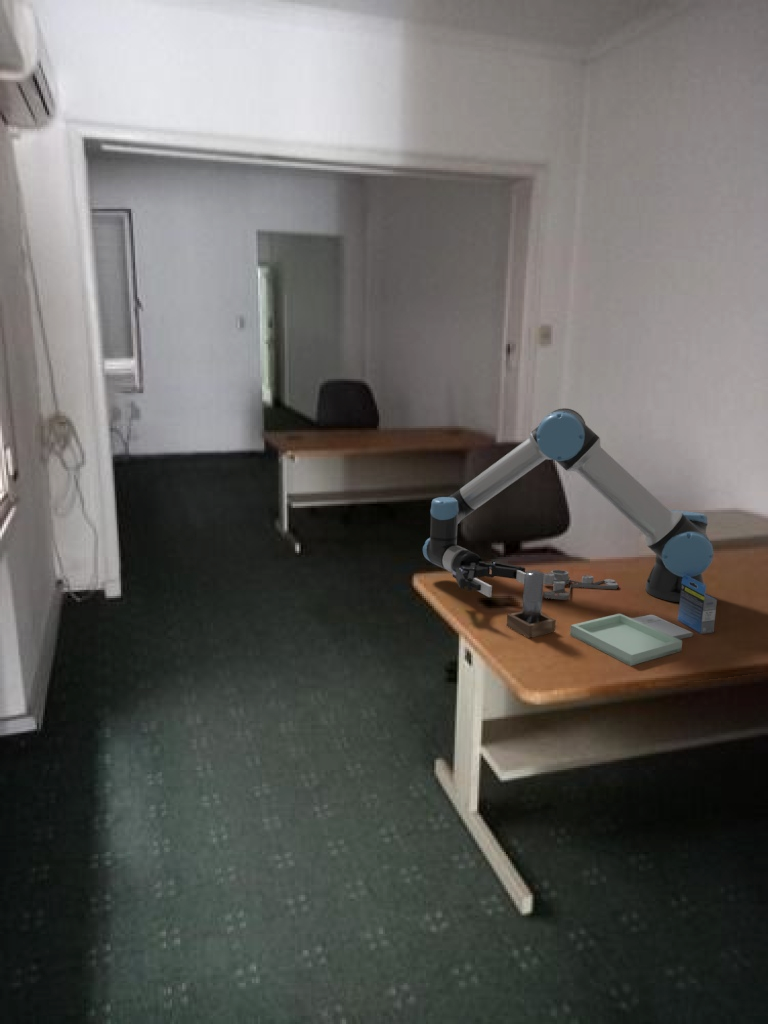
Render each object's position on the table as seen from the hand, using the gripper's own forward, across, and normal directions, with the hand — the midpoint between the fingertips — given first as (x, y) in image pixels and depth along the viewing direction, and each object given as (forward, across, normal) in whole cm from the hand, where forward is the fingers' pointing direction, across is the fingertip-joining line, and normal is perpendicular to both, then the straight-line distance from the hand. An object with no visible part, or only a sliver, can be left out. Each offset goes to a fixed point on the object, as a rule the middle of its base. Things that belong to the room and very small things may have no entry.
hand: (513, 587), depth 170 cm
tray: (+23, -14, -8) cm, 28 cm away
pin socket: (+7, 0, -8) cm, 11 cm away
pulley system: (-11, -30, -9) cm, 33 cm away
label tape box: (+24, -38, -9) cm, 45 cm away
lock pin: (+7, 0, -8) cm, 11 cm away
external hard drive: (+21, -28, -9) cm, 36 cm away
